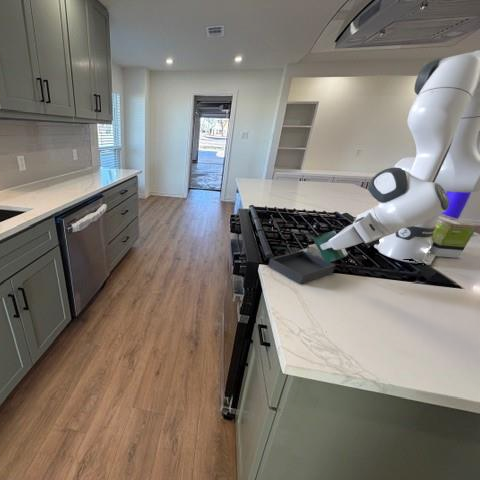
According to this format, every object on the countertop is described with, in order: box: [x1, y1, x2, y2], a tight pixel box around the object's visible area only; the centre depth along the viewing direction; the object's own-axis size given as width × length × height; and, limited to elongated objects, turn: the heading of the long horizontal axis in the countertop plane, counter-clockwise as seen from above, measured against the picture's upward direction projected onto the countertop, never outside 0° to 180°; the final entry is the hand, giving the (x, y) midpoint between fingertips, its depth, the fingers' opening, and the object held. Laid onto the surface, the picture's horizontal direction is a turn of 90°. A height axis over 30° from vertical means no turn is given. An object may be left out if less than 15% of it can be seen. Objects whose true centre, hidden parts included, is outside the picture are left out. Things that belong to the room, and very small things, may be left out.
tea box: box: [430, 214, 479, 259], centre depth 109 cm, size 15×10×15 cm
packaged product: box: [299, 243, 349, 260], centre depth 103 cm, size 18×5×10 cm
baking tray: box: [268, 249, 336, 285], centre depth 92 cm, size 18×13×3 cm
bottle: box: [442, 191, 472, 219], centre depth 127 cm, size 8×8×30 cm
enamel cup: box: [312, 230, 349, 263], centre depth 85 cm, size 7×7×8 cm
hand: (325, 244), depth 85 cm, fingers closed on enamel cup, 7 cm apart
